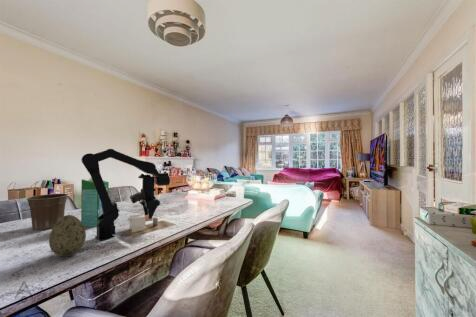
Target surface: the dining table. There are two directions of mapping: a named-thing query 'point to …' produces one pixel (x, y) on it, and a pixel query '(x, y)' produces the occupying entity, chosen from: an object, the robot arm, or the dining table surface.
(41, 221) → the plant pot
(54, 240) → the decorative egg
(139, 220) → the white rectangular block
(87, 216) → the milk carton
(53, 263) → the dining table surface
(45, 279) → the dining table surface
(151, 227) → the walnut stand
